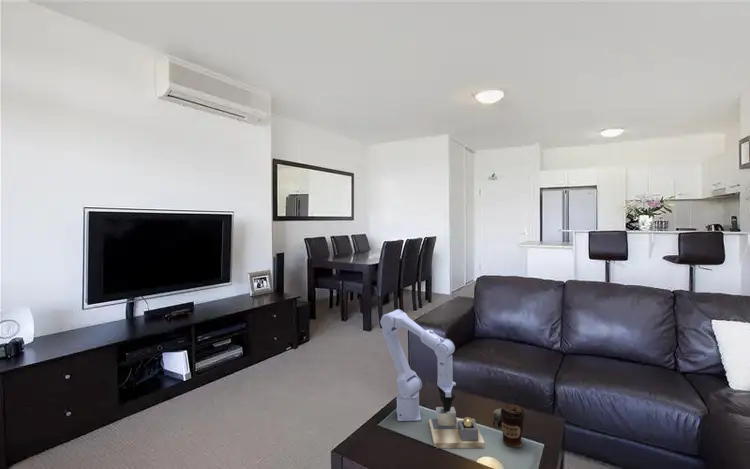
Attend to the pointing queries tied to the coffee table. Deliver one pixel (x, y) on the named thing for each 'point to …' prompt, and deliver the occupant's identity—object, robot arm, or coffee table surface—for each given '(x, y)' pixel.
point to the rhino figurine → (497, 416)
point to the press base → (456, 435)
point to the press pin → (467, 422)
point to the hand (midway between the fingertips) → (445, 405)
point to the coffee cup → (512, 424)
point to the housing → (445, 417)
